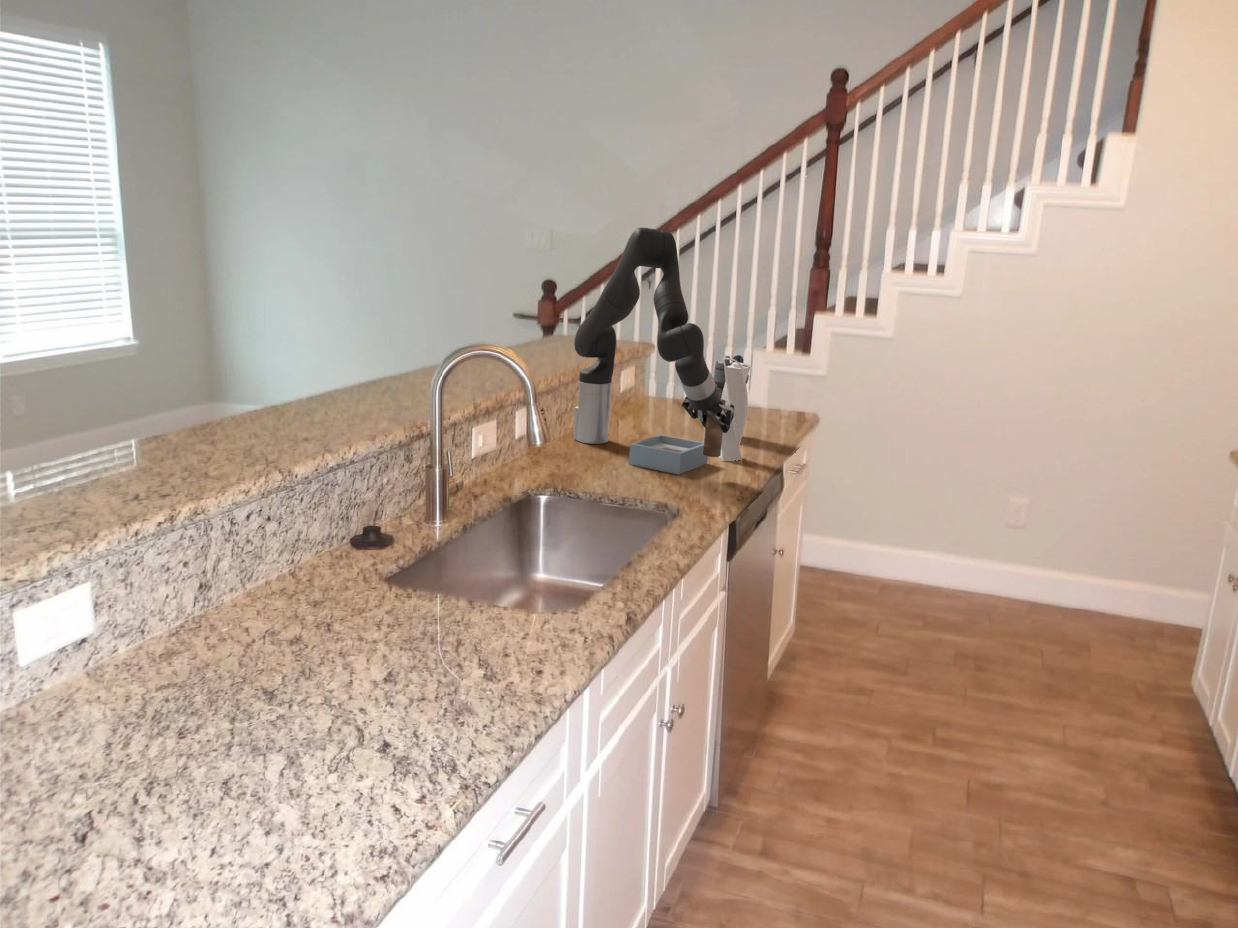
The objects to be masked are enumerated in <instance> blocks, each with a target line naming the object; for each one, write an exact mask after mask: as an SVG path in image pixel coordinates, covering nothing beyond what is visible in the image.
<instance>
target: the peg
mask: <svg viewBox="0 0 1238 928" xmlns="http://www.w3.org/2000/svg"><path fill="white" fill-rule="evenodd" d="M720 400H721V401H722V402H723V405H725V404H726V401H725V400H722V399H720ZM721 419H722V417H721ZM704 429H705V430H704V441H703V442H704V449H703V455H705V456H708V458H709V457H710V458H711V457H712V458H718V457H719V456H720V455H721V445H722V435H723V431H722V428H721V426H720V424H719V422H718V421H715V420H714V419H713V418H712V416H711V415H707V417H706V427H704Z"/></svg>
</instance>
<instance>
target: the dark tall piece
mask: <svg viewBox="0 0 1238 928" xmlns="http://www.w3.org/2000/svg"><path fill="white" fill-rule="evenodd" d="M724 358H731V356H730V355H729V356H728V355H725V356H724ZM732 359H735V360H737V361H738V362H739V363H744V358H743V356H742V355H741V354H739V355H738V354H736V355H734V356H733V357H732ZM730 361H732V360H725V364H726V366H730V365H732V363H733V362H735V361H732V362H730ZM743 366H745V365H743ZM745 367H748V366H745ZM749 378H750V376H749V374H748V376H747V379H746V385H747V384H748V381H749ZM713 379H714V382H715V384H716V386H717V389H718V391H719V397H720V399H721V397H722V393H723V389H724V386H725V382H726V377H725V368H724V363H723V362H719V360H718V361H716V362H715V363H714V371H713Z"/></svg>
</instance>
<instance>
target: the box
mask: <svg viewBox="0 0 1238 928" xmlns="http://www.w3.org/2000/svg"><path fill="white" fill-rule="evenodd" d="M703 449H704V441H698V440H697V441H696V440H693V439H692V440H691V439H688V438H687V439H686V438H682V437H681V438H680V437H677V436H671V435H666V434H657V435H654V436H650V437H648V438H644V439H641V440H638V441H635V442H631V443H629V454H628V455H629V456H628V465H631V466H634V467H635V466H636V467H641V468H646V469H650V470H654V471H658V472H659V471H660V472H664V473H665V472H666V473H669V474H675V475H677V476H679V475H682V474H684V473H687V472H689V471H692V470H694V469H697V468H699V467H702V466H705V465H707V464H708V462H709V460H708V459H709V456H705V455H703Z"/></svg>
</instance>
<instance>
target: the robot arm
mask: <svg viewBox="0 0 1238 928" xmlns="http://www.w3.org/2000/svg"><path fill="white" fill-rule="evenodd" d="M678 257H679V256H678V249H677V243H676V239H675V237H674V235H673V234H672V233H671V232H670V231H667V230H664V229H655V228H649V227H638V228H636V229H634V230H633V232H631V234H630V236H629V238H628V240H627V242H626V245H625V247H624V250H623V252H622V254H621V257H620V260H619V261H618V263H617V266H616V267H615V270H614V271H613V273H612V275H611V276H610V278H609V279H608V281H607V283H606V284H605V286H604V288H603V290H602V291H601V294H599V295H600V296H599V297H598V300H597V301H596V303H595V305H594V306H593V308H592V309H591V311H590V312H589V314H588V315H587V316H586V318H585V319H584V320H583V322H581V323H580V325H579V327H578V328H577V331H576V333H575V337H574V342H573V343H574V350H575V352H576V354H578V355H579V356H580V357H582V358H589V359H590V358H591V359H592V358H594V359H595V358H596V362H594V363H593V364H592V365H590V366H588V367H585V368H583V369H581V370H580V371H579V377H578V398H577V399H578V400H577V406H575V407H574V419H573V440H576V441H577V442H580V443H584V444H593V445H599V444H605V443H606V444H607V443H608V442H609V437H610V436H609V435H610V434H609V433H610V432H609V431H610V418H611V417H610V416H611V415H610V414H611V398H612V397H611V396H612V381H613V379H612V378H613V374H614V370H615V359H616V349H617V334H616V330H615V328H614V327H613V326H614V325H616V324H619V323H620V322H621V321H623V320H624V319H626V318H627V317H628V316H629V315H630V314H631V313H632V311H633V310H634V308H635V306H636V305H637V303H638V301H639V300H640V296H641V293H640V292H641V290H640V285H639V281H638V278H637V277H636V274H635V271H636V270H637V268H640V267H646V268H651V269H652V268H654V269H660V270H661V272H662V274H663V275H662V278H661V279H660V281H659V282H658V285H657V286H656V287H655V290H654V292H653V293H654V294H653V305H654V309H655V313H656V316H657V320H658V321H657V323H658V326H657V327H658V331H657V337H656V339H657V340H656V346H657V351H658V354H659V356H660V357H661V359H662V360H664V361H666V362H668V363H673V362H674V368H675V371H676V374H677V375H678V377H679V380H680V382H681V387H682V389H683V391H684V393H685V397H684V399H683V401H682V403H681V406H682V408H683V409H684V410H685V411H686V412H687V413H688V415H689V416H690V417H691V418H692V419H694V420H696V419H698V422H699V421H700V422H701V425H702V427H703V428H705V427H706V417H707V415H711V416H712V418H713V419H714V420H715V421H718V422H719V424H720V426H721V428H722V431H723V433H727V432H728V430H729V428H730V424H731V422H732V420H733V417H734V405H732V404H730V406H729V407H728V406H726V405H723V402H722V401H721V400H720V397H719V391H718V389H717V385H716V384H715V382H714V376H713V374H712V373H711V372H710V370H709V367H708V365H707V362H706V360H705V357H704V355H705V354H704V353H705V352H704V351H705V350H704V348H705V347H704V344H705V343H704V342H705V341H704V334H703V331H702V330H701V328H700V327H699V326H698V325H697V324H695V323H692V322H689V312H688V309H687V306H686V302H685V298H684V296H683V292H682V286H681V278H680V266H679V265H680V264H679V258H678ZM721 417H722V419H721Z"/></svg>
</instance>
